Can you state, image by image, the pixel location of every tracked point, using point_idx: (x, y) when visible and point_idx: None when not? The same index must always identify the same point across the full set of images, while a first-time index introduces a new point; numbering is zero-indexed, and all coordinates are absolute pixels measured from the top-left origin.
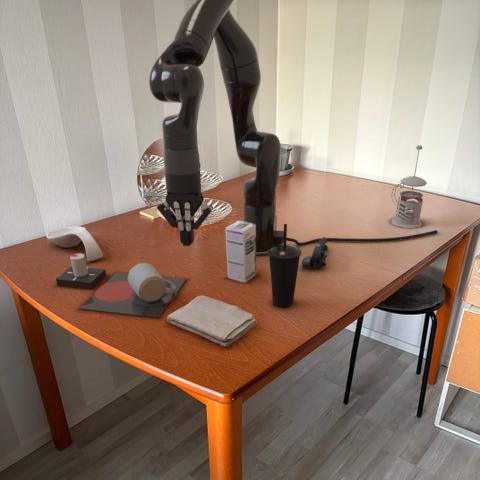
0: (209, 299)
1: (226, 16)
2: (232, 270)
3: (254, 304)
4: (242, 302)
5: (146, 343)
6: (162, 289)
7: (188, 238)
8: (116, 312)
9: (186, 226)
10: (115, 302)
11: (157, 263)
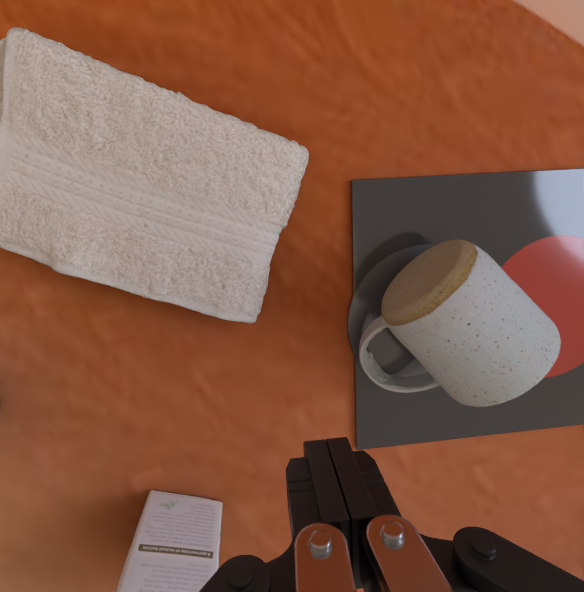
0: (192, 296)
1: None
2: (197, 524)
3: (59, 365)
4: (107, 366)
5: (325, 5)
6: (390, 301)
7: (311, 478)
8: (503, 173)
9: (342, 563)
10: (530, 236)
11: (487, 519)
